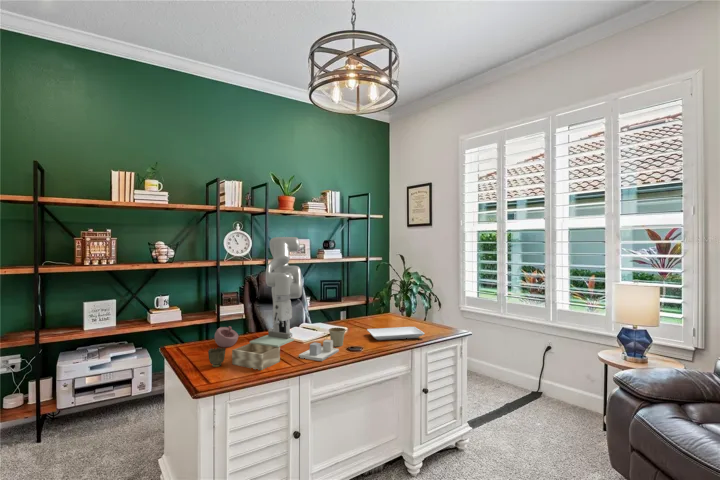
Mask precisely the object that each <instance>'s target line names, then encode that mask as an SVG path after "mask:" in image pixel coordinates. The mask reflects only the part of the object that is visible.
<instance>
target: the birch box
mask: <svg viewBox="0 0 720 480" xmlns="http://www.w3.org/2000/svg"><path fill="white" fill-rule="evenodd" d="M231 350H232V351H231V365H234V366H239V367H244V368H248V369H251V368H253V369H252V370H256V369H258V370H257V371H261V370H262V371H264V370H266V369H268V368H271V367H272V366H274V365H276V364H278V363H280V362H281V346H280V347H273V346H266V345H260V344H253V343H247V344H245V345H242V346H239V347H237V348H234V349H231ZM267 367H268V368H267ZM265 368H266V369H265ZM263 369H264V370H263Z"/></svg>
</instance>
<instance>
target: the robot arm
mask: <svg viewBox="0 0 720 480" xmlns="http://www.w3.org/2000/svg"><path fill="white" fill-rule="evenodd" d="M300 246H301V245H300V239H299V238H298V237H297V236H278V237H277V236H275V237H272V238H271V239H270V240H269V249H270V250H269V251H270V253H271V255H272V258H273V259H271V260H270V261H269V263H268V264H267V266H266V268H265V283H266V285H267V287H270V288H271V297H272V312H273V313H272V321H273V322H272V326H273V327H269V328H268V332H269V331H274V332H282V333H289V334H290V338H291V336H292V337H293V333H292V332H290V331H291V330H290V329H291V328H290V327H291V325H290V324H291V322H290V321H291V319H292V318H293V307H292V301H291V299H300V298H301V297H302V294H303V286H302V285H303V281H302V271H301V268H300V266H298V265H289V262H290V253H297V252H299V251H300V248H301V247H300Z"/></svg>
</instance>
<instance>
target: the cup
mask: <svg viewBox="0 0 720 480" xmlns="http://www.w3.org/2000/svg"><path fill="white" fill-rule="evenodd" d="M226 351H227V350H226V347H220V346H218V347H216V348H215V347H214V348H210V349H208V350H207V355H208V361H209V362H210V364H211V366H212V367H213V368H219V367H221V366H222V364H223V363H224V361H225V357H226Z"/></svg>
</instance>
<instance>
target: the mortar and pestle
mask: <svg viewBox="0 0 720 480" xmlns="http://www.w3.org/2000/svg"><path fill="white" fill-rule="evenodd" d="M232 328H233V327H232V326H230V325H229V326H228V327H227V326H220V327H219V328H217V329H216V330H215V333H214V342H215V344H217V346H218V347H220V348H222V347H223V348H231V347H233V346H234V345H235V344H236V343H237V342H238V339H239V334H238V332H237V331H235V330H234V329H232Z"/></svg>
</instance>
